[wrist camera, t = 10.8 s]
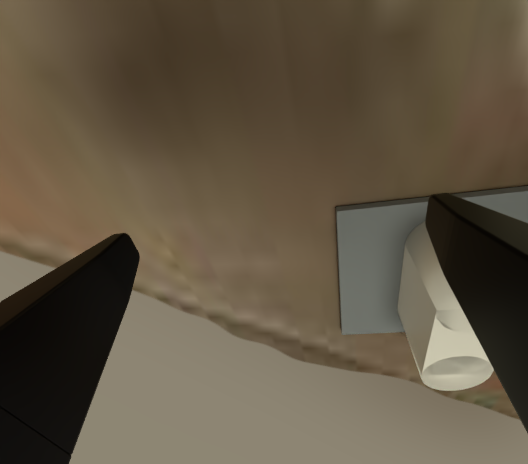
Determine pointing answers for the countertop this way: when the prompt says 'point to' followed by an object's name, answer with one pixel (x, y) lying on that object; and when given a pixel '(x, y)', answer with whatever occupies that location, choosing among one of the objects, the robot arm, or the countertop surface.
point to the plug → (437, 321)
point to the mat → (391, 253)
